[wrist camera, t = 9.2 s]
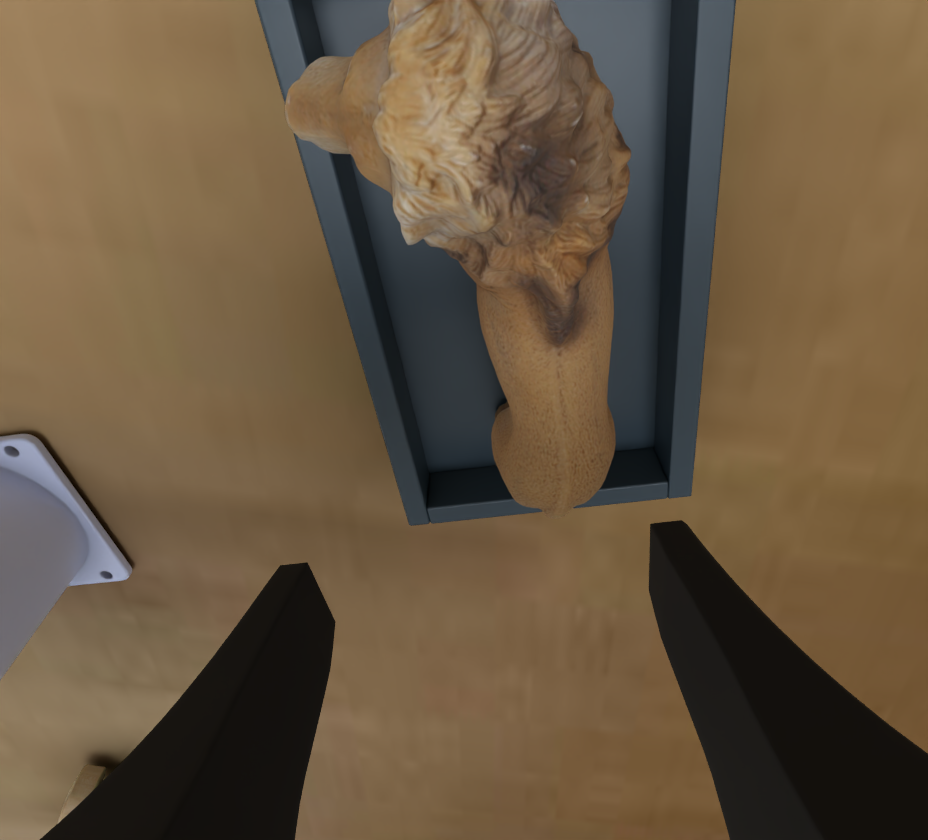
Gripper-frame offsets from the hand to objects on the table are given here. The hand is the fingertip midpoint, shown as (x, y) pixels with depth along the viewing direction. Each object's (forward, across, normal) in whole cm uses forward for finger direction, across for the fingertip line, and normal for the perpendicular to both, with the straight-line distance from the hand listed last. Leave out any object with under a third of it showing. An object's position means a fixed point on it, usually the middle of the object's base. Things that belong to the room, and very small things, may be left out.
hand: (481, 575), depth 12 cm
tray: (+9, -2, -3) cm, 10 cm away
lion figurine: (+9, -2, -4) cm, 10 cm away
